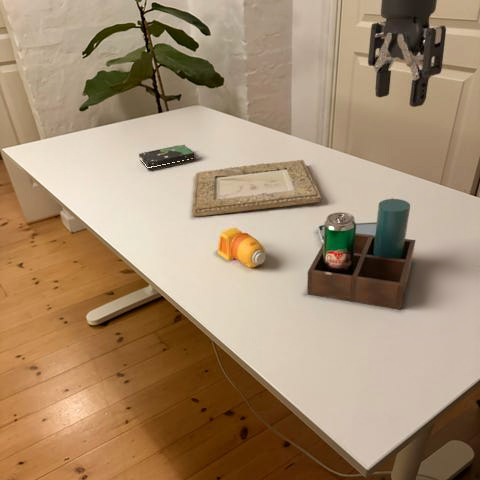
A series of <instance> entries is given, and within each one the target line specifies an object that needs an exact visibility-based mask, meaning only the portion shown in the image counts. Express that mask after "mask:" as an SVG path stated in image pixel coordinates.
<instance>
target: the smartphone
mask: <svg viewBox="0 0 480 480" xmlns="http://www.w3.org/2000/svg"><path fill="white" fill-rule="evenodd" d="M376 224H377V221H376V222H375V221H374V222H356V233H359V234H367V235H375V233H376ZM317 230H318V234H319V238H320V241H321V243H322V244H323V243H324V224H320V225H318V226H317Z"/></svg>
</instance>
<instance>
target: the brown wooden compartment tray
mask: <svg viewBox="0 0 480 480" xmlns="http://www.w3.org/2000/svg"><path fill="white" fill-rule="evenodd" d="M374 242H375V235H367V234H359V233H356V235H355V247H354V260H353V272H352V276H351V275H344V274H338V273H331V272H324V271H323V244H322V245H321V247H320V248H319V251H318V252H317V254H316V255H315V257H314V259H313V261H312V263H311V265H310V266H309V268H308V270H307V289H306V291H307V292H306V293H307V295H310V296H316V297H323V298H328V299H334V300H335V299H336V300H340V301H346V302H347V301H348V302H353V303H359V304H364V305H370V306H375V307H381V308H387V309H394V310H401V307H402V304H403V299H404V295H405V291H406V287H407V283H408V279H409V276H410V271H411V266H412V262H413V257H414V251H415V246H416V239H410V238H409V239H408V238H405V243H404V250H403V256H402V259H397V258H389V257H381V256H374V255H373V250H374Z"/></svg>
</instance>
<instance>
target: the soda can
mask: <svg viewBox="0 0 480 480" xmlns="http://www.w3.org/2000/svg"><path fill="white" fill-rule="evenodd" d="M356 223H357V222H356V221H355V216H354V215H353V214H351V213H348V212H341V211H340V212H333V213H331V214H329V215H327V216H326V220H325V222H324V223H323V225H324V243H322V245H323V271H324V272H331V273H338V274H344V275H351V276H352V272H353V260H354V247H355V235H356Z"/></svg>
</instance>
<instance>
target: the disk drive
mask: <svg viewBox="0 0 480 480" xmlns="http://www.w3.org/2000/svg"><path fill="white" fill-rule="evenodd" d="M138 157H139V161H140V163H141V164H142V165H143V166H144V168H146V170H147V171H155V170H159V169H164V168H169V167H172V166H179V165H182V164H183V165H184V164H187V163H191V162H194V161H196V154H195V152H194V151H193V150H192V149H191V148H190V147H188V146H186V144H180V145H174V146H169V147H163V148H160V149H154V150H149V151H143V152H141V153H138ZM140 158H141V160H142V161H143V162H144V163H145V164H146V166H147V167H151V166H157V165H161V166H157V167H152V168H147V167H146V166H145V164H144V163H143V162H142V161H141V160H140ZM191 158H193V159H191ZM187 159H189V160H187ZM182 160H184V161H182ZM177 161H180V162H177ZM172 162H175V163H172ZM167 163H170V164H167ZM162 164H166V165H162Z"/></svg>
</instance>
